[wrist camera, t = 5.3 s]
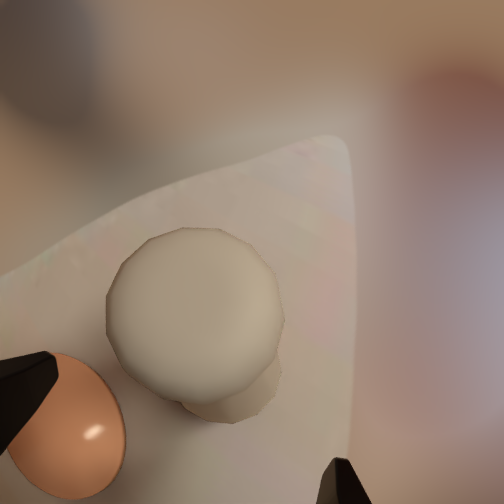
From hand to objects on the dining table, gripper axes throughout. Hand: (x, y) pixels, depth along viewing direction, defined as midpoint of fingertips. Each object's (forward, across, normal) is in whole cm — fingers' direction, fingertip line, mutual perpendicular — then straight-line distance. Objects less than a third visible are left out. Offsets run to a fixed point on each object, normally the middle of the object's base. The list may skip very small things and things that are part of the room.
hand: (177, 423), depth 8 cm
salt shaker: (+9, 0, +5) cm, 10 cm away
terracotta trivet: (+3, +9, +10) cm, 14 cm away
